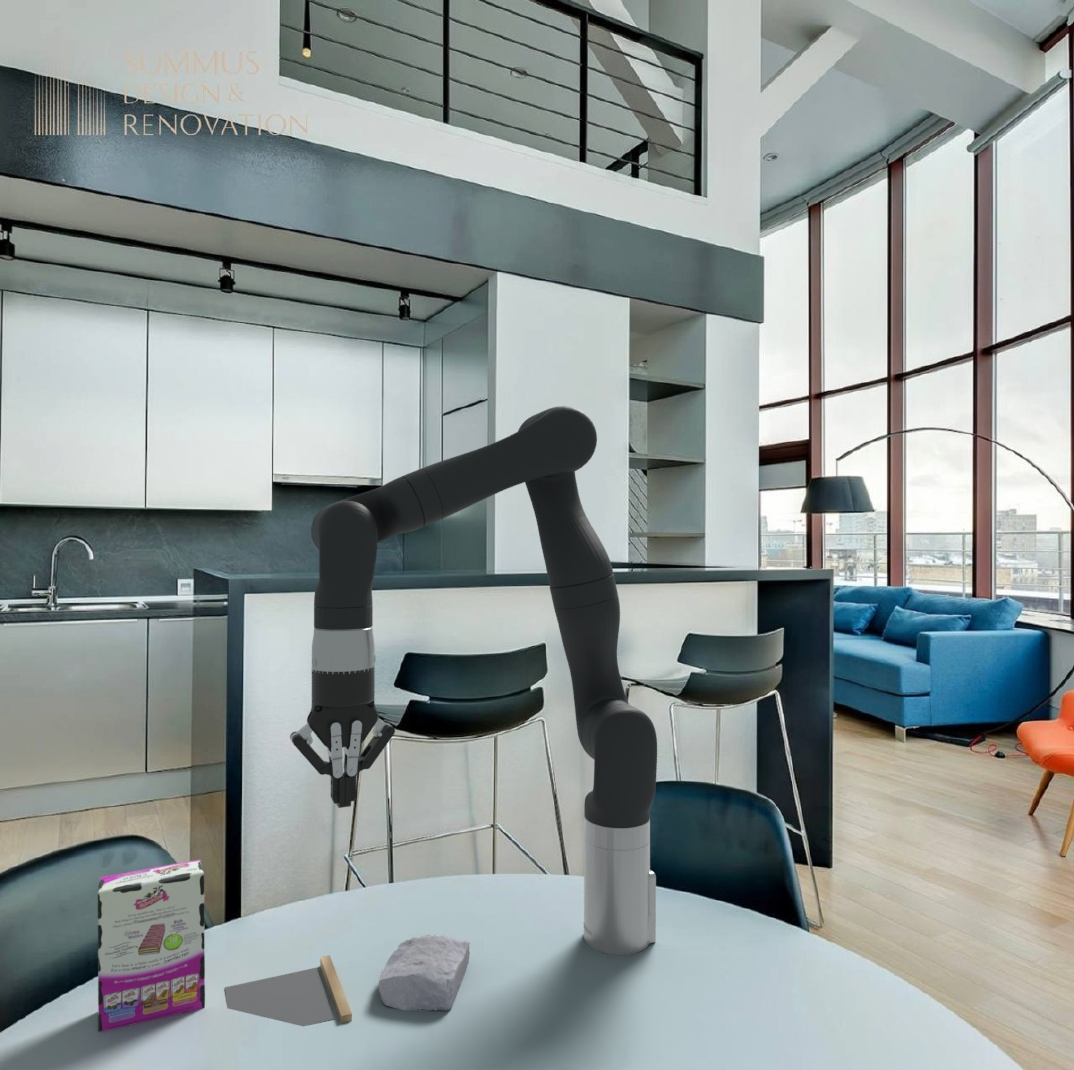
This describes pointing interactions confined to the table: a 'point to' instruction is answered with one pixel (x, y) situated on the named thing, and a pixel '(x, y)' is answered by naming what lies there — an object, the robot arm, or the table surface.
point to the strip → (335, 989)
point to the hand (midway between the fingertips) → (343, 805)
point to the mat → (283, 998)
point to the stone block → (424, 973)
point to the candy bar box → (150, 944)
